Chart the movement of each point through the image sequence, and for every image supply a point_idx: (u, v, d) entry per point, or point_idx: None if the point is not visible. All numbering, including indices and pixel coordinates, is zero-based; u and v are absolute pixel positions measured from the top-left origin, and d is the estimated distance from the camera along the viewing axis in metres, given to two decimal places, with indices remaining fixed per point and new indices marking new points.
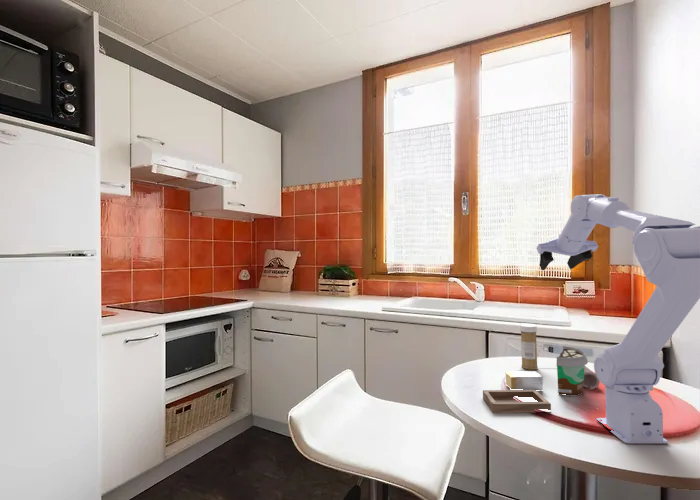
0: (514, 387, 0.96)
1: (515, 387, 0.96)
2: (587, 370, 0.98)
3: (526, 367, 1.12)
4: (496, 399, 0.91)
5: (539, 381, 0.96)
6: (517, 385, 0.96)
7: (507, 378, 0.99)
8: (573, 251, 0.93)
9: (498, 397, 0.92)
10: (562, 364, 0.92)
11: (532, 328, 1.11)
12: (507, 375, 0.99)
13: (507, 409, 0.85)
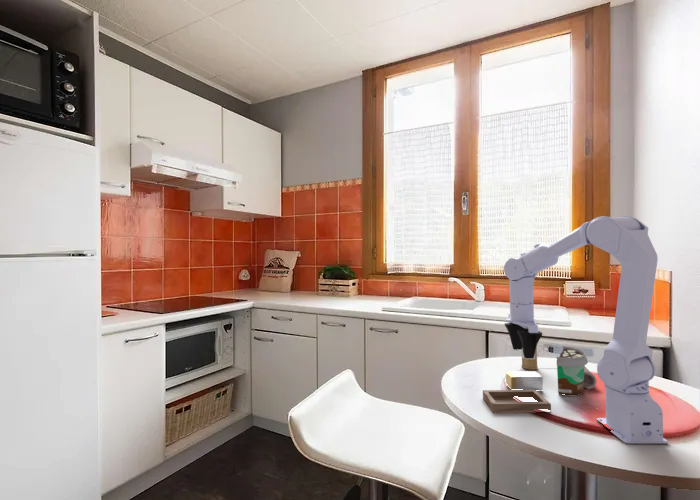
0: (514, 387, 0.96)
1: (515, 387, 0.96)
2: (584, 370, 0.98)
3: (526, 367, 1.12)
4: (496, 399, 0.91)
5: (539, 381, 0.96)
6: (517, 385, 0.96)
7: (507, 378, 0.99)
8: None
9: (498, 397, 0.92)
10: (562, 364, 0.92)
11: None
12: (507, 375, 0.99)
13: (507, 409, 0.85)
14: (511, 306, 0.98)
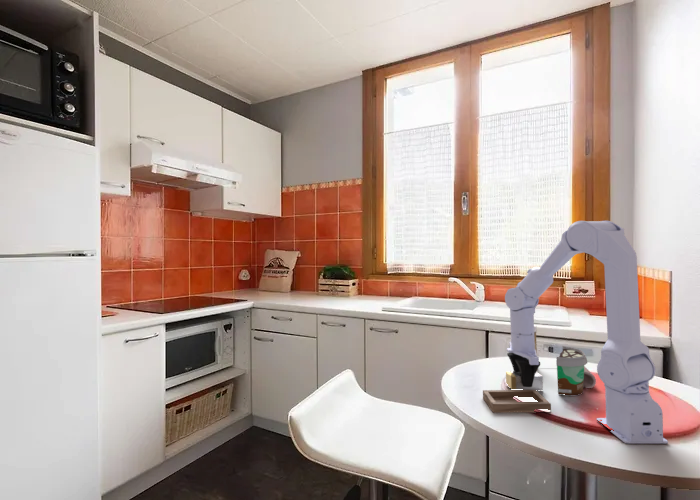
0: (514, 387, 0.96)
1: (515, 387, 0.96)
2: (584, 370, 0.98)
3: None
4: (496, 399, 0.91)
5: (540, 381, 0.96)
6: (517, 385, 0.96)
7: (507, 378, 0.99)
8: None
9: (498, 397, 0.92)
10: (562, 364, 0.92)
11: None
12: (507, 375, 0.99)
13: (507, 409, 0.85)
14: (512, 336, 0.98)
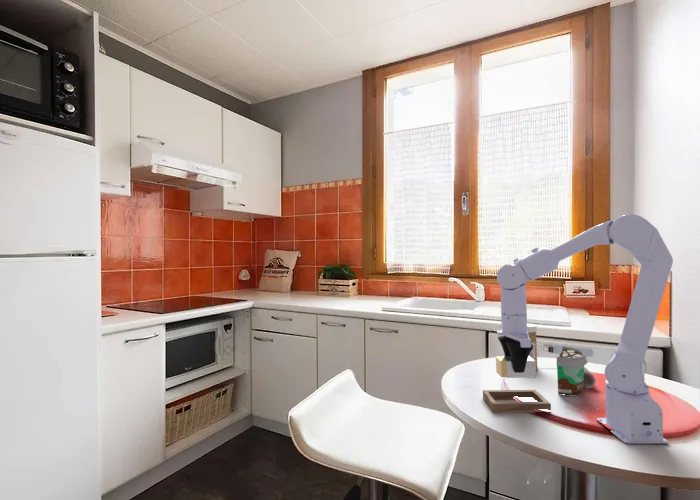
0: (504, 372, 0.88)
1: (506, 373, 0.88)
2: None
3: None
4: (496, 399, 0.91)
5: (532, 366, 0.87)
6: (508, 370, 0.88)
7: (497, 363, 0.90)
8: None
9: (498, 397, 0.92)
10: (562, 364, 0.91)
11: (532, 328, 1.11)
12: (497, 360, 0.90)
13: (507, 409, 0.85)
14: (502, 317, 0.89)
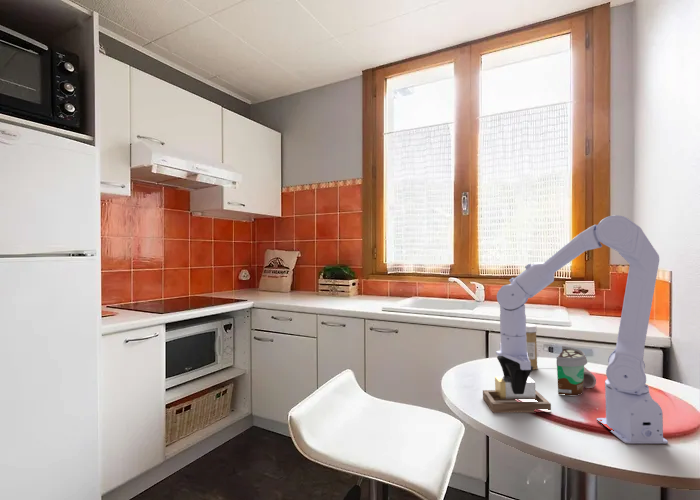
0: (504, 394, 0.87)
1: (505, 394, 0.87)
2: (584, 370, 0.98)
3: None
4: (496, 399, 0.91)
5: (532, 387, 0.86)
6: (507, 392, 0.87)
7: (496, 384, 0.89)
8: None
9: (498, 397, 0.92)
10: (562, 364, 0.91)
11: (531, 328, 1.11)
12: (496, 380, 0.89)
13: (507, 409, 0.85)
14: (502, 337, 0.88)
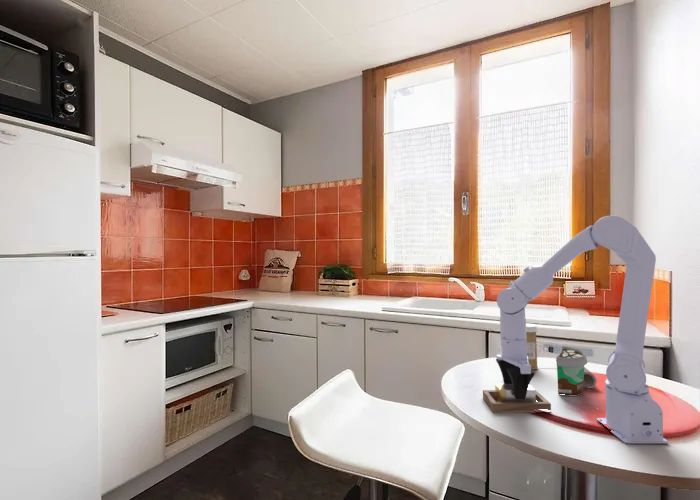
0: None
1: None
2: (584, 370, 0.98)
3: None
4: None
5: (532, 395, 0.86)
6: (508, 400, 0.87)
7: (497, 391, 0.89)
8: None
9: None
10: (562, 364, 0.91)
11: (531, 328, 1.11)
12: (497, 388, 0.89)
13: (507, 409, 0.85)
14: (502, 341, 0.88)
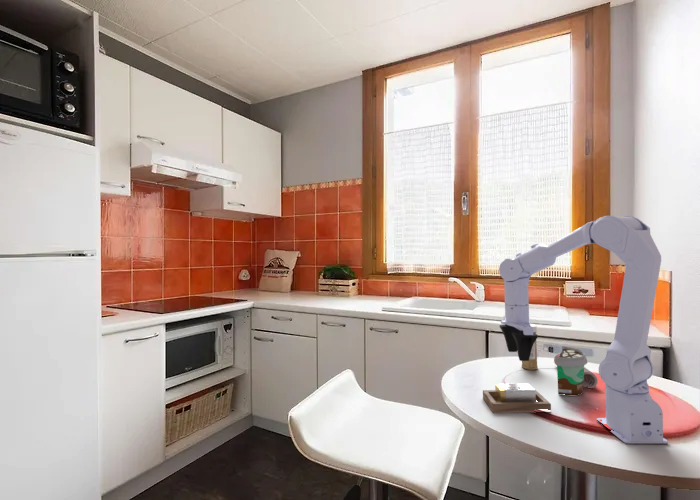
0: None
1: None
2: (585, 370, 0.98)
3: (526, 367, 1.12)
4: None
5: (532, 395, 0.86)
6: (508, 400, 0.87)
7: (497, 391, 0.89)
8: None
9: None
10: (562, 364, 0.91)
11: None
12: (497, 388, 0.89)
13: (507, 409, 0.85)
14: (506, 307, 0.96)
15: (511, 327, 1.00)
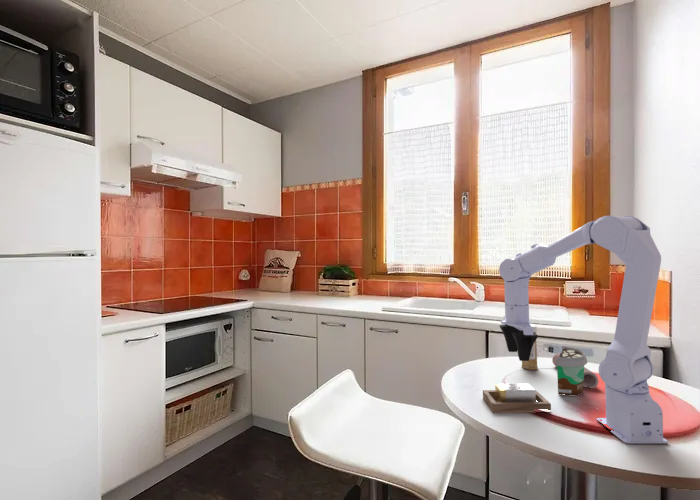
0: None
1: None
2: (586, 370, 0.98)
3: (526, 367, 1.12)
4: None
5: (532, 395, 0.86)
6: (508, 400, 0.87)
7: (497, 391, 0.89)
8: None
9: None
10: (562, 364, 0.91)
11: None
12: (497, 388, 0.89)
13: (507, 409, 0.85)
14: (506, 308, 0.96)
15: (511, 327, 1.00)
